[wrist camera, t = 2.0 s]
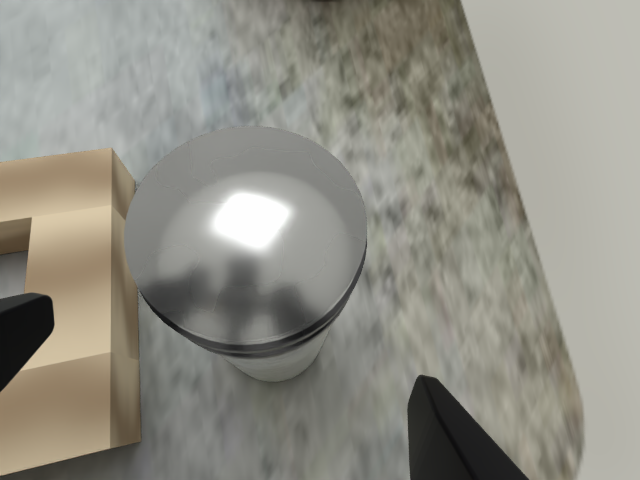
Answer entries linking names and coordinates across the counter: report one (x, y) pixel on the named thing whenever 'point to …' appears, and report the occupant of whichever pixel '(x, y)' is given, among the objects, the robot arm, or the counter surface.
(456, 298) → the counter surface
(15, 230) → the tan square ring
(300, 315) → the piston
